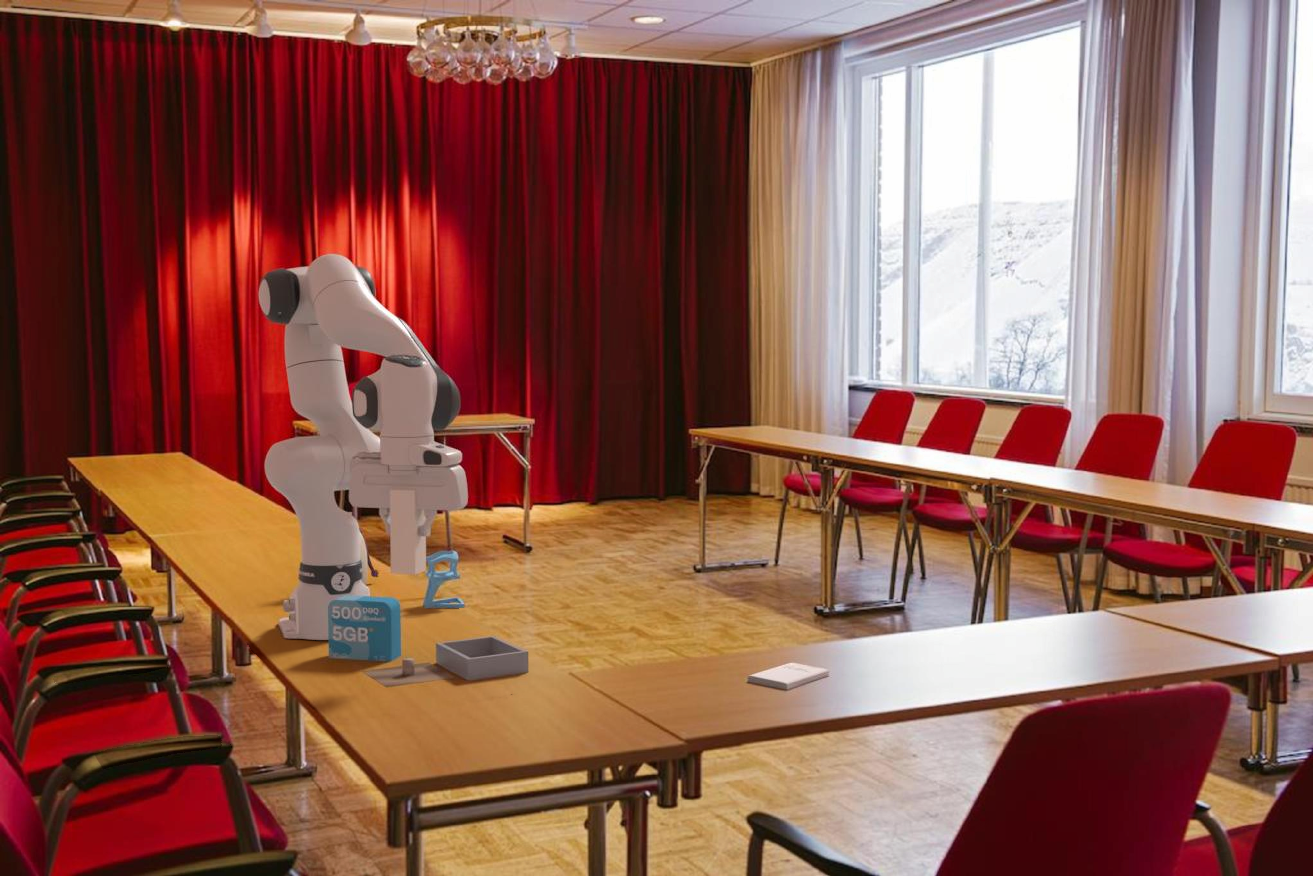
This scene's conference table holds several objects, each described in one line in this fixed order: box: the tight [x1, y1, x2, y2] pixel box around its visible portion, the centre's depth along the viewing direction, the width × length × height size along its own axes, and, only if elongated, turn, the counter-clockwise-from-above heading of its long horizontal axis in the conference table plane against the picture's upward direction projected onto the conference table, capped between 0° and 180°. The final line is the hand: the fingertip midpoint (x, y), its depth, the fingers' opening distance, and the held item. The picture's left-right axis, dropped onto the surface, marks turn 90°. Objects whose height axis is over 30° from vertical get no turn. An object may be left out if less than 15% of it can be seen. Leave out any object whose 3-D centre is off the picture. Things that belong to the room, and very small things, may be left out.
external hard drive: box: [747, 662, 830, 691], centre depth 231 cm, size 2×8×12 cm
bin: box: [435, 635, 529, 682], centre depth 232 cm, size 14×11×5 cm
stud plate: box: [362, 657, 456, 688], centre depth 228 cm, size 12×12×4 cm
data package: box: [327, 595, 402, 662], centre depth 240 cm, size 12×4×12 cm, turn 77°
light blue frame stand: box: [422, 549, 466, 609], centre depth 292 cm, size 8×8×12 cm
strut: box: [389, 489, 427, 575], centre depth 226 cm, size 4×4×14 cm
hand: (408, 535), depth 226 cm, fingers closed on strut, 4 cm apart
